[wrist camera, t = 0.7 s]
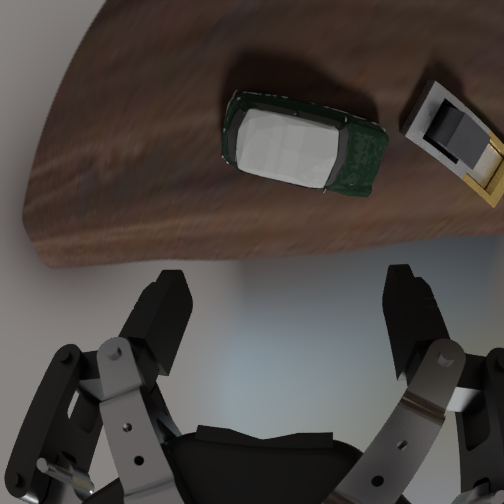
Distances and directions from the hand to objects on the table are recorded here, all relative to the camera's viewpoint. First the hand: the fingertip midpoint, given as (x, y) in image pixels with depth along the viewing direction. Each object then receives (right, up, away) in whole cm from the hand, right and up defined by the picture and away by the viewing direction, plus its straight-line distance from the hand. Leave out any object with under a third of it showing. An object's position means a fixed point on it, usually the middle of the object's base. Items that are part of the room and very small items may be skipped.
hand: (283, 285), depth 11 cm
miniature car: (+5, +15, +21) cm, 26 cm away
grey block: (+22, +16, +16) cm, 32 cm away
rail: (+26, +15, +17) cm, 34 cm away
